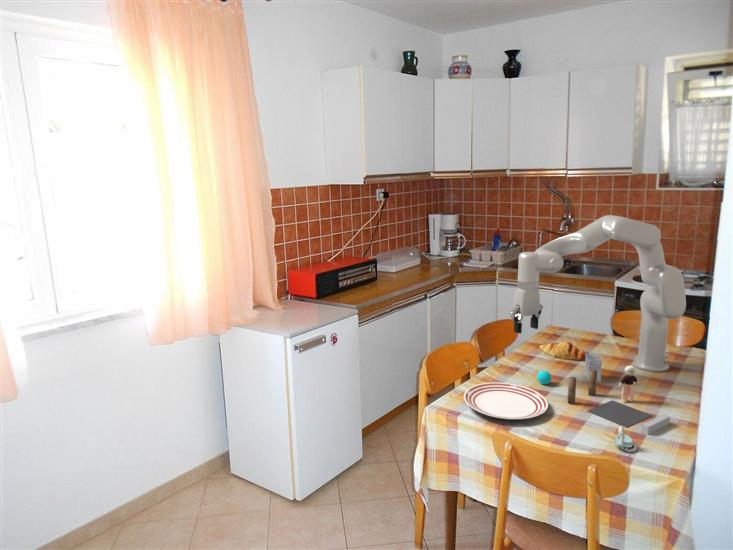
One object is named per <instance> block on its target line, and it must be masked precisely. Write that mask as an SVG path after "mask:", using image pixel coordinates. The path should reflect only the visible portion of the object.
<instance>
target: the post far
mask: <svg viewBox="0 0 733 550" xmlns="http://www.w3.org/2000/svg"><path fill="white" fill-rule="evenodd" d="M567 386H568V388H567V402H568V403H569V405H575V404H576V394H577V393H576V392H577V391H576V390H577V377H575V376H569V377H568V385H567ZM568 403H567V404H568Z"/></svg>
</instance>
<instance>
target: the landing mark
mask: <svg viewBox="0 0 733 550" xmlns="http://www.w3.org/2000/svg"><path fill="white" fill-rule="evenodd" d="M586 412H588V413H590V414H592V415H595V416H597V417H599V418H602V419H604V420H607V421H609V422H611V423H613V424H616V425H619V426H623V428H626V429H628V428H630V427H632V426H634V425H637V424H638V423H640V422H642V421H644V420H647V419H649V418H651V417H653V415H652V414H650V413H647V412H644V411H642V410H640V409H636V408H634V407H631V406H629V405H625V403H622V402H621V403H620V402H618V401H616V400H614V399H613V400H612V399H611V400H610V401H607V402H604V403H602V404H600V405H597V406H595V407H593V408H590V409H588V410H586Z"/></svg>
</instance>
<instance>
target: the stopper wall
mask: <svg viewBox="0 0 733 550" xmlns="http://www.w3.org/2000/svg"><path fill="white" fill-rule="evenodd" d="M670 421H671V416H670V415H667V414H666V413H663V414H661V415H658V416H657V417H655V418H653V419H651V420H648V421H647V422H644V423H641V424H642V425H641V430H640V431H641V432H640V433H642V432H643V433H642V434H645V435H647V434H648V435H650V434H653V433H655V432H657V430H661V429H662V428H664V427H666V426H668V425H670V424H671V423H670Z"/></svg>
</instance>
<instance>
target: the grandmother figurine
mask: <svg viewBox="0 0 733 550" xmlns="http://www.w3.org/2000/svg"><path fill="white" fill-rule="evenodd" d="M635 372H636V367H635V366H634V365H627V366H625V367H624V373H626V374H625V375H624V376H623V377H622V379H621V380H620V381H619V384H618V386H617V387H618V388H619V389H621V388H622V389H621V390H622V391H621V397H620V398H621V399H619V401H620V402H621V404H628V403H633V402H634V395H635V394H634V385H639V381H638V378H637V377H636V376H635ZM622 386H623V387H622Z"/></svg>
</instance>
